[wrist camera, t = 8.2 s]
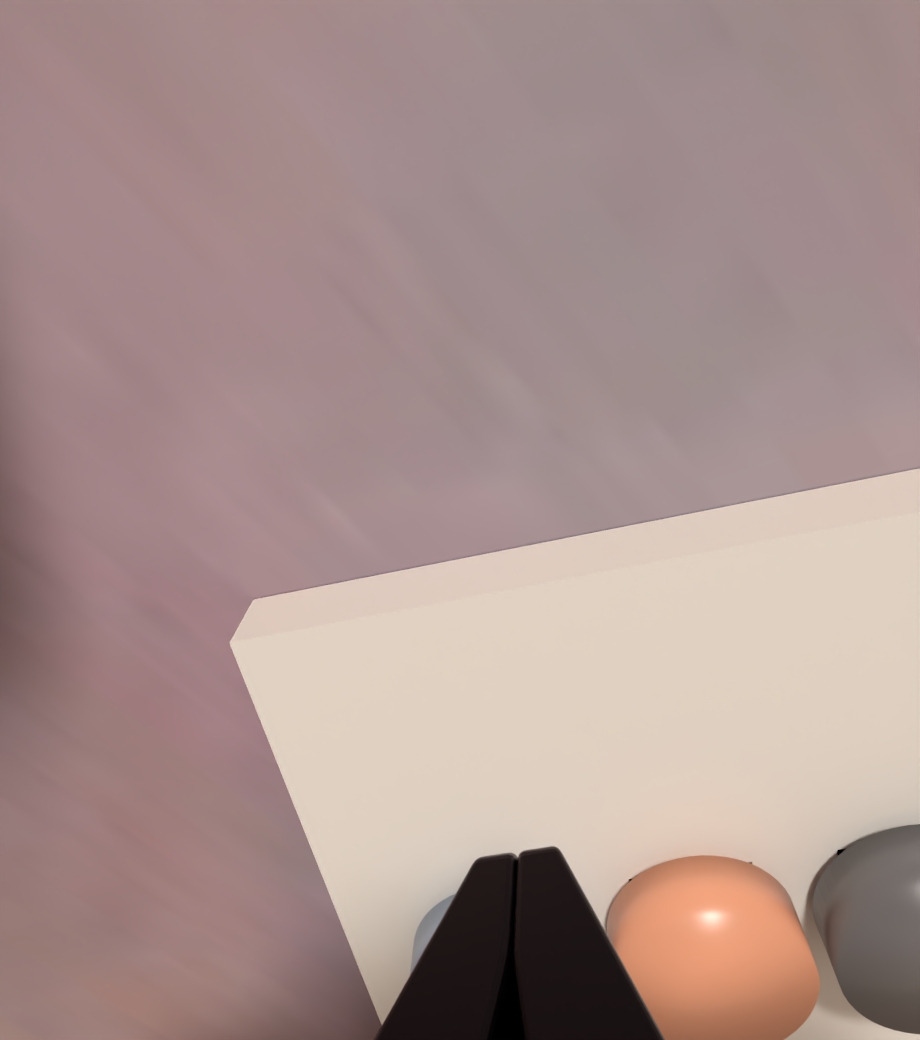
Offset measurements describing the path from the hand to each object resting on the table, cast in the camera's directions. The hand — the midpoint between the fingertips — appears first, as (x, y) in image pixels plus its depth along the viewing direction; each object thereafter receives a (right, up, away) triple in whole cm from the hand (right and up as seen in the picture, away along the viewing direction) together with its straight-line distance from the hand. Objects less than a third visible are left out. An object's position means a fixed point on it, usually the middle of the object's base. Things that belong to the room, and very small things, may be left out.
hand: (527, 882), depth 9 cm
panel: (+5, -5, +15) cm, 17 cm away
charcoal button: (+10, -5, +14) cm, 18 cm away
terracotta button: (+5, -6, +15) cm, 17 cm away
